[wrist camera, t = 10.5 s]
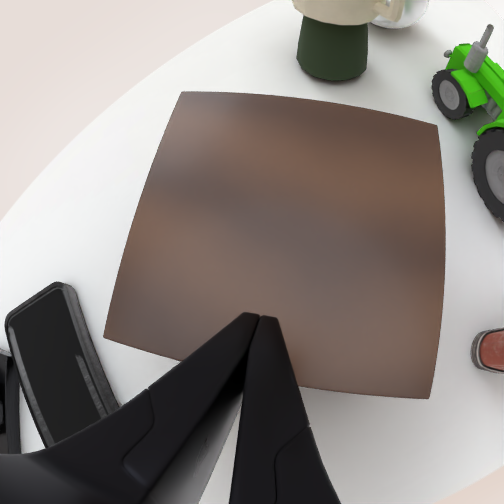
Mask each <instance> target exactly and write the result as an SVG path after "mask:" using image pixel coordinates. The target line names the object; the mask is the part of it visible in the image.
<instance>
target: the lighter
mask: <svg viewBox="0 0 504 504" xmlns="http://www.w3.org/2000/svg"><path fill="white" fill-rule="evenodd" d="M471 358H472V362H473V363H474V365H475V366H476V367H477V368H479V369H482V370H486V371H489V372H493V373H503V374H504V328H498V329H493V330H488V331H483V332H481V333H479V334H478V335H477V336H476V337H475V339H474V341H473V344H472V348H471Z"/></svg>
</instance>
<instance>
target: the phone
mask: <svg viewBox="0 0 504 504" xmlns="http://www.w3.org/2000/svg"><path fill="white" fill-rule="evenodd" d="M5 332H6V336H7V340H8V344H9V348H10V352H11V355H12V359H13V362H14V366H15V369H16V372H17V376H18V379H19V382H20V385H21V388H22V391H23V394H24V397H25V399H26V402H27V405H28V407H29V410H30V413H31V415H32V418H33V420H34V423H35V425H36V428H37V430H38V432H39V435H40V437H41V439H42V441H43V444H44V446H45V448H48V447H50V446H52V445H54V444H56V443H58V442H60V441H62V440H64V439H66V438H68V437H70V436H72V435H73V434H75V433H77V432H79V431H81V430H83V429H85V428H86V427H88V426H90V425H92V424H94V423H95V422H97V421H99V420H101V419H102V418H104V417H106V416H107V415H109V414H111V413H112V412H114V411H116V410H117V409H119V406H118V404H117V402H116V400H115V398H114V395H113V393H112V391H111V389H110V386H109V384H108V382H107V379H106V377H105V375H104V372H103V370H102V367H101V365H100V362H99V360H98V357H97V354H96V352H95V349H94V347H93V344H92V341H91V338H90V336H89V333H88V330H87V327H86V324H85V321H84V318H83V315H82V312H81V309H80V306H79V303H78V299H77V296H76V293H75V291H74V289H73V288H72V287H71V286H70V285H67V284H64V283H62V282H54V283H52V284H50V285H49V286H47V287H46V288H44V289H43V290H41V291H40V292H38V293H37V294H35V295H34V296H32V297H31V298H29V299H28V300H26V301H25V302H24V303H22V304H21V305H19V306H18V307H16V308H15V309H13V310H12V311H11V312H9V313H8V315H7V316H6V319H5Z"/></svg>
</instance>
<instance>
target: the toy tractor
mask: <svg viewBox="0 0 504 504" xmlns="http://www.w3.org/2000/svg"><path fill="white" fill-rule="evenodd" d="M493 29H494V27H493V25H491V24H489V25H488V26H487V28H486V30H485V32H484V34H483V36H482V38H481V41H480V42H477V41H476V42H474V43H473V45H470V44H459V46H455V48H454V51H453V53H452V51H451V50H447V51H446V52H445V53H444V56H445V57H447V58H449V57H451V58H450V60H449V62H448V64H447V67H446V69H445V70H441V71H438V72H436V73H437V74H435V75H434V76H433V77H434V79H432V90H433V93H432V94H433V96H434V99H435V102H436V103H437V105H438V108H439V109H440V110H441V111H442V113H443V114H444V115H446V116H447V117H448V118H452V119H454V120H455V119H460V118H463V117H467V116H469V115H470V114H472V113H473V110H474V109H475V107H477V106H480V105H481V107H483V108H485V109H486V111H487V113H488V114H489V115H490V116H491V117H492V119H493V121H494V122H492V123H489V124H486V125H484V126H483V127H482V128H481V129H480V130H479V131H478V132H477V134H478V136H479V137H478V138H479V140H478V141H476V142H475V143H474V146H473V147H474V151H473V152H472V156H471V158H472V159H473V161H472V165H471V166H472V171H473V173H474V182H475V185H476V184H477V187H478V190H479V191H478V192H479V194H480V197H482V198H483V200H484V201H485V205H486V206H487V208H490V209H491V210H492V211H493V213H492V214H494V215H495V216H496V217H499V218H501V219H502V221H503V222H504V70H503V69H502V68H501V67H500V66H499V65H498V64H497V63H494V62H493V61H492V60H491V59H490V58H489V57H488V56H487V54H488V49H487V47H486V44H487V42H488V40H489V38H490V36H491V34H492V31H493Z"/></svg>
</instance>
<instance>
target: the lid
mask: <svg viewBox="0 0 504 504" xmlns="http://www.w3.org/2000/svg"><path fill="white" fill-rule="evenodd" d="M444 279H445V200H444V184H443V171H442V161H441V151H440V143H439V135H438V128H437V125H434V124H430V123H427V122H423V121H419V120H415V119H411V118H407V117H403V116H399V115H394V114H390V113H385V112H381V111H376V110H371V109H366V108H361V107H355V106H349V105H344V104H337V103H331V102H324V101H317V100H310V99H302V98H294V97H284V96H274V95H262V94H248V93H230V92H181V94H180V96H179V99H178V101H177V103H176V106H175V108H174V110H173V113H172V115H171V117H170V120H169V122H168V125H167V127H166V130H165V132H164V135H163V137H162V140H161V142H160V145H159V147H158V150H157V153H156V155H155V158H154V161H153V163H152V166H151V169H150V171H149V174H148V177H147V180H146V183H145V186H144V189H143V191H142V194H141V197H140V200H139V203H138V206H137V210H136V213H135V216H134V219H133V222H132V225H131V229H130V232H129V235H128V239H127V242H126V246H125V249H124V253H123V256H122V260H121V263H120V267H119V271H118V275H117V279H116V283H115V286H114V291H113V295H112V299H111V303H110V307H109V312H108V316H107V321H106V325H105V330H104V335H103V337H104V338H106V339H109V340H112V341H115V342H118V343H121V344H124V345H127V346H130V347H133V348H137V349H140V350H143V351H147V352H150V353H153V354H157V355H160V356H164V357H167V358H171V359H175V360H178V361H183V360H184V359H185V358H187V357H188V356H189V355H190V354H192V353H193V352H194V351H195V350H197V349H198V348H199V347H200V346H202V345H203V344H204V343H205V342H207V341H208V340H209V339H211V338H212V337H213V336H214V335H215V334H217V333H218V332H219V331H220V330H222V329H223V328H224V327H225V326H227V325H228V324H229V323H230V322H232V321H233V320H234V319H235V318H236V317H238V316H239V315H240V314H241V313H243V312H250V313H256V314H259V315H260V317H261V316H262V315H267V316H272V317H276V318H277V319H278V321H279V324H280V327H281V330H282V334H283V337H284V340H285V344H286V347H287V350H288V353H289V357H290V360H291V363H292V367H293V370H294V373H295V377H296V380H297V383H298V386H301V387H307V388H314V389H321V390H328V391H336V392H344V393H353V394H362V395H372V396H383V397H397V398H413V399H429V397H430V392H431V387H432V382H433V377H434V371H435V365H436V358H437V352H438V345H439V337H440V328H441V319H442V308H443V296H444Z"/></svg>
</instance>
